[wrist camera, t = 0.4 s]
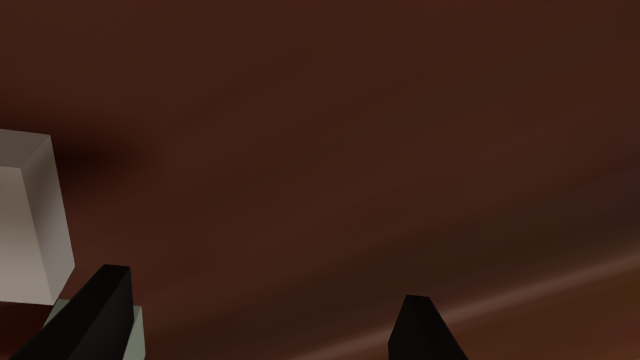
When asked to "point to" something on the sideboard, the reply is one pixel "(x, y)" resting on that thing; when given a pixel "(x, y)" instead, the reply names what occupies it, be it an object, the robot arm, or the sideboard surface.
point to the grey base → (31, 221)
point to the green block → (136, 340)
